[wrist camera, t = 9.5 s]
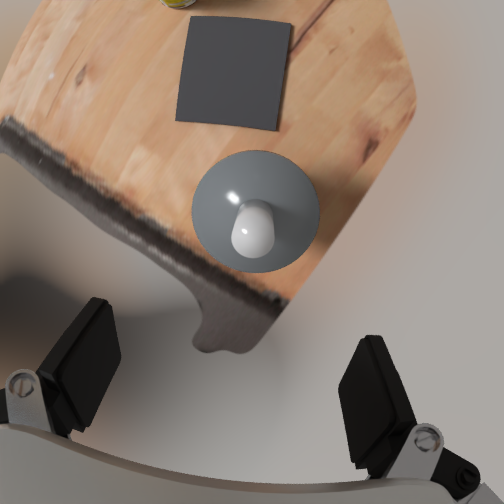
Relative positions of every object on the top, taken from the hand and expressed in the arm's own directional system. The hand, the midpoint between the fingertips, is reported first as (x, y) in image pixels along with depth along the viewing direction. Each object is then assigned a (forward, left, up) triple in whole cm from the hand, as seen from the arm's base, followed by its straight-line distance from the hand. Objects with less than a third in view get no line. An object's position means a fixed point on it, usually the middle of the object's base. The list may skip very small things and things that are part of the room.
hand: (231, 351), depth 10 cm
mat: (-14, -5, -28) cm, 32 cm away
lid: (0, 0, -17) cm, 17 cm away
